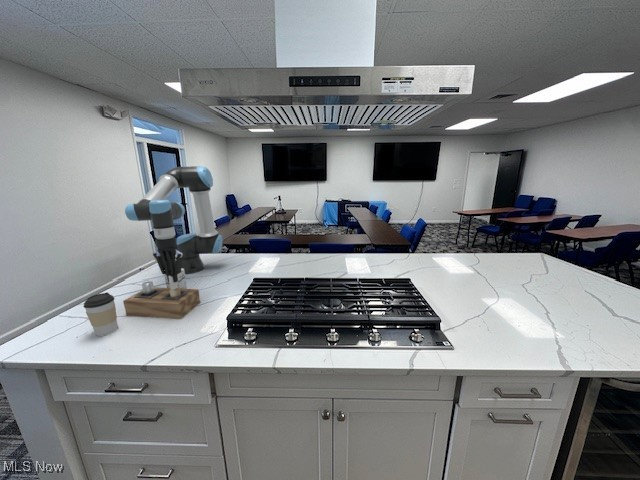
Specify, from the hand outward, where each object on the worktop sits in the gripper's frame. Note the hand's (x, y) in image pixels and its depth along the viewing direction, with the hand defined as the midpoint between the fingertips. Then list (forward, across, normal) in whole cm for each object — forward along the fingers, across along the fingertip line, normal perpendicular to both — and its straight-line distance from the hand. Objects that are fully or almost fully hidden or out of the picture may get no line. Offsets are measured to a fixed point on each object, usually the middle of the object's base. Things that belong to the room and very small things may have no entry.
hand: (174, 288), depth 111 cm
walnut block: (+10, -6, 0) cm, 12 cm away
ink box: (+11, -12, +17) cm, 24 cm away
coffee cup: (+11, -18, -18) cm, 27 cm away
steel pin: (+5, -13, 0) cm, 14 cm away
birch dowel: (+8, 0, 0) cm, 8 cm away
